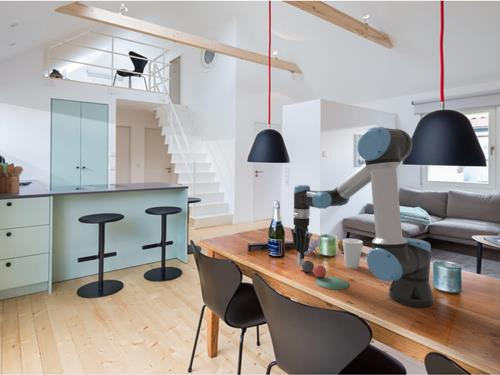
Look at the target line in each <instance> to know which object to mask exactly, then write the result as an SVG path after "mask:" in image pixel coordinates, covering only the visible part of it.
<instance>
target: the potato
mask: <svg viewBox="0 0 500 375" xmlns="http://www.w3.org/2000/svg"><path fill="white" fill-rule="evenodd" d="M343 240H344V239H340V240H339V241H338V242H337V247H338V249H339V251H341V252H342V253H344V248H343Z"/></svg>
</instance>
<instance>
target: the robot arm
mask: <svg viewBox="0 0 500 375" xmlns="http://www.w3.org/2000/svg"><path fill="white" fill-rule="evenodd" d="M356 148H357V153H358V155H359V156H360V157H361V159H362V160H364V164H362V165H361V166H360V167H359V168H358V169H357V170H355V171H353V173H351V174H350V175H349V176H348V177H347V178H345V180H343V181H342V182H341V183H339V185H337V186H336V187H335V188H334V189H331V190H329V189H328V190H311V187H310V185H307V184H304V185H303V184H301V185H299V184H296V185H294V189H293V225H294V228H292V229H290V232H291V235H292V242H293V244H292V245H293V249H294V250H296V258H297V261H296V262H297V266H298V267H299V266H300V267H301V266H302V264H303V262H305V261H304V260H305V255H304V253H306V252H308V247H309V245H310V243H311V238H312V237H313V236H312V235H313V234H312V233H310V231H309V228H308V227H309V226H310V215H311V213H310V208H316V209H319V210H320V209H325V210H326V209H328V208H329V207H340V206H344V205H347V204H348V203H349V201H350V198H351V197H352V196H354V195H355V194H357V193H358V192H359V191H360V190H362V189H363V188H365V187H366V186H367V185H369V184H370V183H371V193H372V195H371V196H372V205H373V215H374V230H375V237H374V238H373V239H372V240H371V245H372V246H371V247H372V248H371V250H370V251H369V252H368V253H367V256H366V263H367V267H368V269H369V271H370V272H371V274H373V275H374V277H375V278H377V279H379V280H381V281H383V282H391V284H390V287H389V288H388V296H389V298H391V299H392V300H393V301H395V302H396V303H399V304H402V305H405V306H409V307H416V308H429V307H431V306H432V305H433V304H434V300H435V299H434V298H435V297H434V294H433V291H432V288H431V284H430V272H431V271H430V269H431V256H432V248H431V247H432V246H431V243H429V242H428V241H425V240H422V239H417V238H412V237H411V238H410V237H406V236H405V237H404V236H403V231H402V230H403V229H402V221H401V220H402V218H401V209H400V208H401V207H400V198H399V185H398V175H397V173H398V172H397V168H398V167H399V165H401V162H403V161H404V160H406V158H407V157H409V155H410V154H411V152H412V149H413V140H412V138H411V136H410V134H409V133H407V132H406V131H405V130H402V129H398V128H395V129H394V128H389V127H384V126H379V127H376V126H375V127H370V128H368V129H366V130H365V131H364V132H363V133H362V134H361V136H359V139H358V141H357V146H356Z"/></svg>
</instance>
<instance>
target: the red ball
mask: <svg viewBox="0 0 500 375" xmlns="http://www.w3.org/2000/svg"><path fill="white" fill-rule="evenodd" d="M313 274H314V276H315V277H317V279H318V278H323V277H326V275H327V269H326V267H325V266H323V265H320V264H319V265H316V266H314V269H313Z"/></svg>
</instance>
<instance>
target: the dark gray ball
mask: <svg viewBox="0 0 500 375" xmlns="http://www.w3.org/2000/svg"><path fill="white" fill-rule="evenodd" d="M301 266H302V267H301V268H302V270H303V272H305V273H312V272H314V269H315V265H314V263H313V262H312V261H311V260H305V261H304V262H303V264H302V265H301Z"/></svg>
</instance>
